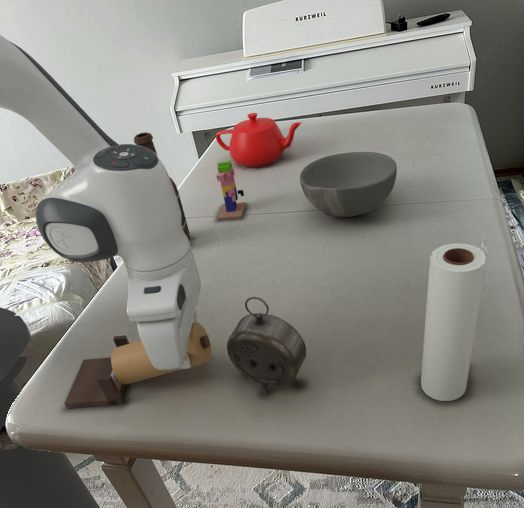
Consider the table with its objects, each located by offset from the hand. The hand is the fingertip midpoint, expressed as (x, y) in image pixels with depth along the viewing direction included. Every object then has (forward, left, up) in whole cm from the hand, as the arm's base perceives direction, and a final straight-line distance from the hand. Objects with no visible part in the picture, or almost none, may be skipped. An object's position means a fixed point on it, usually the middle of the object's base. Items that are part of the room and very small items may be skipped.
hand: (189, 348), depth 78 cm
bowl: (+28, +49, -6) cm, 57 cm away
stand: (-16, 0, -6) cm, 17 cm away
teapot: (+7, +85, -6) cm, 86 cm away
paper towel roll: (+37, -6, -6) cm, 38 cm away
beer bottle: (-11, +43, -6) cm, 45 cm away
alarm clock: (+12, -3, -6) cm, 13 cm away
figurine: (+1, +55, -6) cm, 55 cm away
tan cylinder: (-4, 0, -4) cm, 6 cm away
